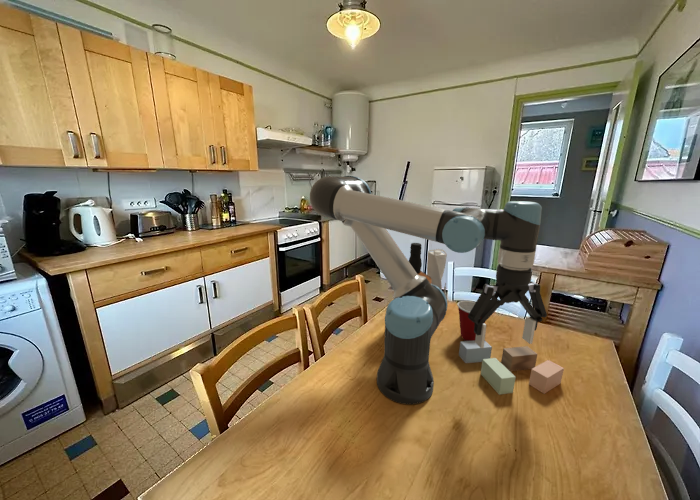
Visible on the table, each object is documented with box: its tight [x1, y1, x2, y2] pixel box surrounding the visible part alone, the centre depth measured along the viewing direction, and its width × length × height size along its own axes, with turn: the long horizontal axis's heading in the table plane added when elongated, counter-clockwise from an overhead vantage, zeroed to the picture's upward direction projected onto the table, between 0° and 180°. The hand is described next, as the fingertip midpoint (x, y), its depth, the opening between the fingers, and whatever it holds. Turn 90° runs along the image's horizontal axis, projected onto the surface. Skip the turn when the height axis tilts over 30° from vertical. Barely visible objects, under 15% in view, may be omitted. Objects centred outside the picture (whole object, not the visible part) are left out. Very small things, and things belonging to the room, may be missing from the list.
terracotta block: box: [528, 359, 565, 394], centre depth 77 cm, size 8×4×5 cm, turn 119°
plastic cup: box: [457, 300, 486, 341], centre depth 98 cm, size 11×11×12 cm
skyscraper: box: [426, 248, 448, 297], centre depth 115 cm, size 8×8×28 cm
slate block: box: [458, 340, 493, 364], centre depth 88 cm, size 8×4×5 cm, turn 97°
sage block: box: [480, 357, 517, 395], centre depth 77 cm, size 8×4×5 cm, turn 9°
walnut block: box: [500, 345, 538, 372], centre depth 84 cm, size 8×4×5 cm, turn 99°
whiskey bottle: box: [408, 242, 432, 284], centre depth 103 cm, size 10×10×32 cm
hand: (503, 343), depth 75 cm, fingers open, 13 cm apart
